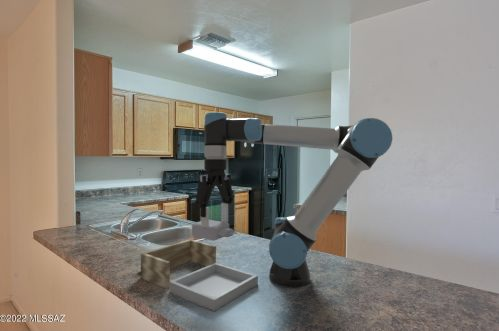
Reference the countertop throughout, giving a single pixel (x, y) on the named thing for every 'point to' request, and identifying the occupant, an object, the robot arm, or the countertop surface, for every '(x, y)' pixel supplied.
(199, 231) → the charger
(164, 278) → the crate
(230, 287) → the tray
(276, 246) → the robot arm
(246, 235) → the countertop surface
